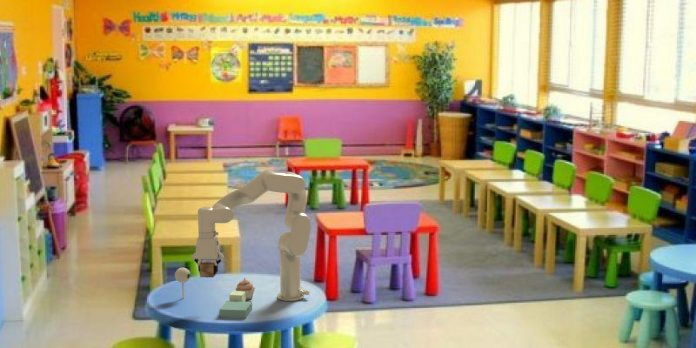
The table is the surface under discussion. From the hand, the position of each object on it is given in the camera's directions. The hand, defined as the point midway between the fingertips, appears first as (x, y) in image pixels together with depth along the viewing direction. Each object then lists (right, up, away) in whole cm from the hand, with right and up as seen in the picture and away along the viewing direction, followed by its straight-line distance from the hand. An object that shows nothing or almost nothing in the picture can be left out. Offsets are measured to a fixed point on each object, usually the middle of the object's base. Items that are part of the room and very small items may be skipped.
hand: (208, 272), depth 401 cm
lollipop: (-15, -14, +17) cm, 27 cm away
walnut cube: (0, -1, 0) cm, 1 cm away
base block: (+13, -18, -4) cm, 23 cm away
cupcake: (+15, -14, +18) cm, 27 cm away
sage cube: (+12, -16, +7) cm, 21 cm away
